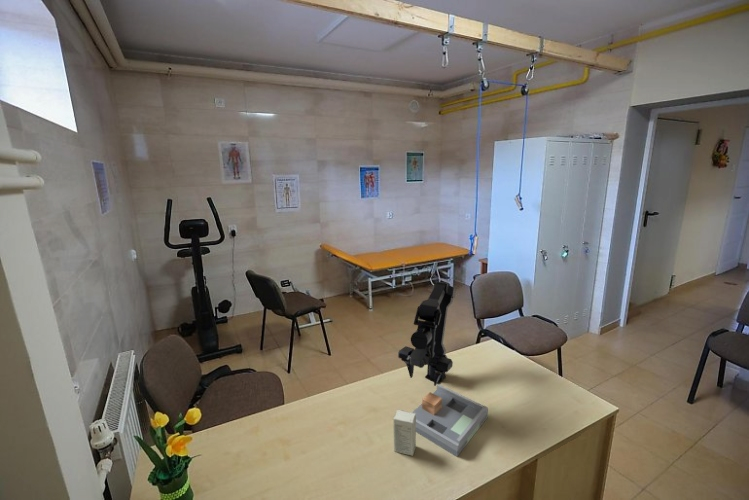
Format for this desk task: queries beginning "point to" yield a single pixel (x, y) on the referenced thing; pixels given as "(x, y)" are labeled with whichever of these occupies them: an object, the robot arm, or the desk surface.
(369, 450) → the desk surface
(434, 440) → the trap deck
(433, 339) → the robot arm
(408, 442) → the skincare box
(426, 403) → the block
